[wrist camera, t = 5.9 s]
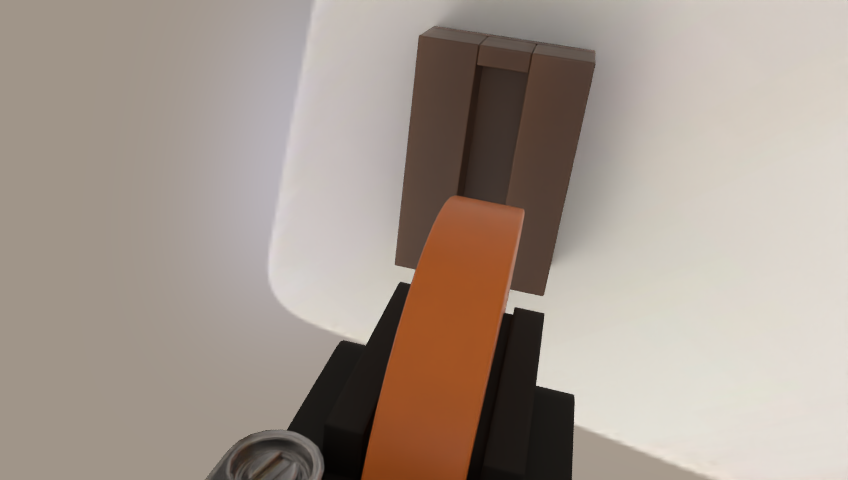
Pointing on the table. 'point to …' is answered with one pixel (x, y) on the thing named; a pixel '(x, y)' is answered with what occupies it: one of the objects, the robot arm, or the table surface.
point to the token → (445, 345)
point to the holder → (493, 137)
